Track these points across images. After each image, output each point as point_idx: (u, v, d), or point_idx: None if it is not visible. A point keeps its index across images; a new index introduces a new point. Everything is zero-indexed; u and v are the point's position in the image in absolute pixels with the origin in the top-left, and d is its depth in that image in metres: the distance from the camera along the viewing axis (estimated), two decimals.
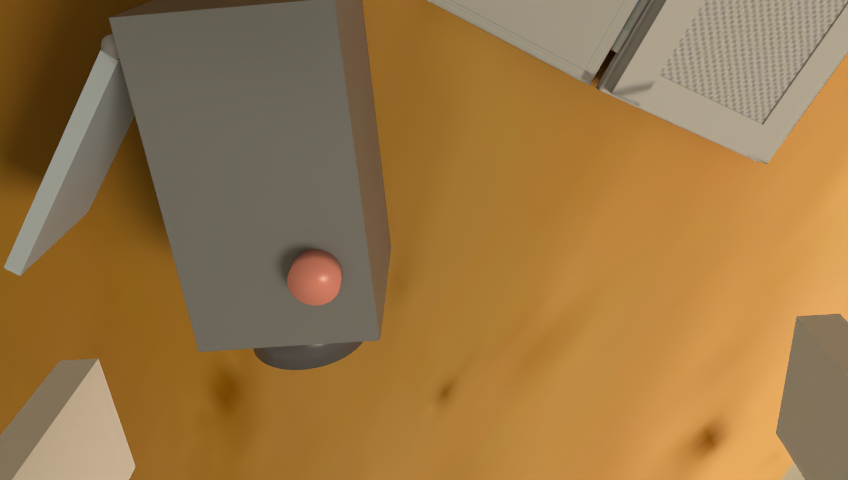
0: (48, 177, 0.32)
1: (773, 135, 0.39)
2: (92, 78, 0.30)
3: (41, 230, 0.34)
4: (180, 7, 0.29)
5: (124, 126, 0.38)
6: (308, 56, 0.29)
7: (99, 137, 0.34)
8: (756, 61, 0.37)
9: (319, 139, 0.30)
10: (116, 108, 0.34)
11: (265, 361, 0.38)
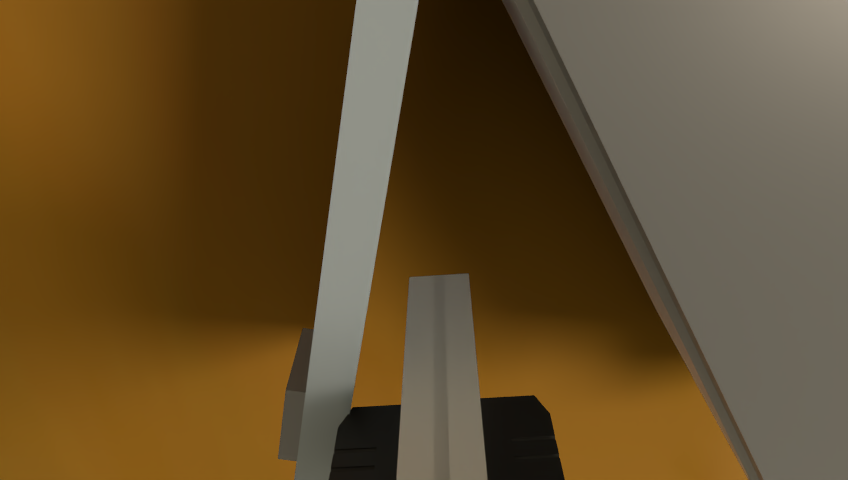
0: (322, 343, 0.12)
1: None
2: (368, 9, 0.09)
3: None
4: None
5: None
6: None
7: None
8: None
9: None
10: None
11: None
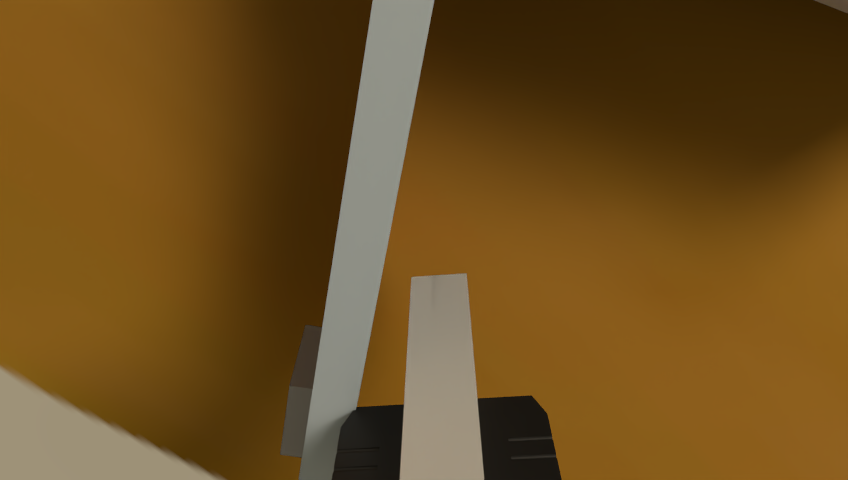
0: (331, 338, 0.12)
1: None
2: (384, 6, 0.09)
3: None
4: None
5: None
6: None
7: None
8: None
9: None
10: None
11: None
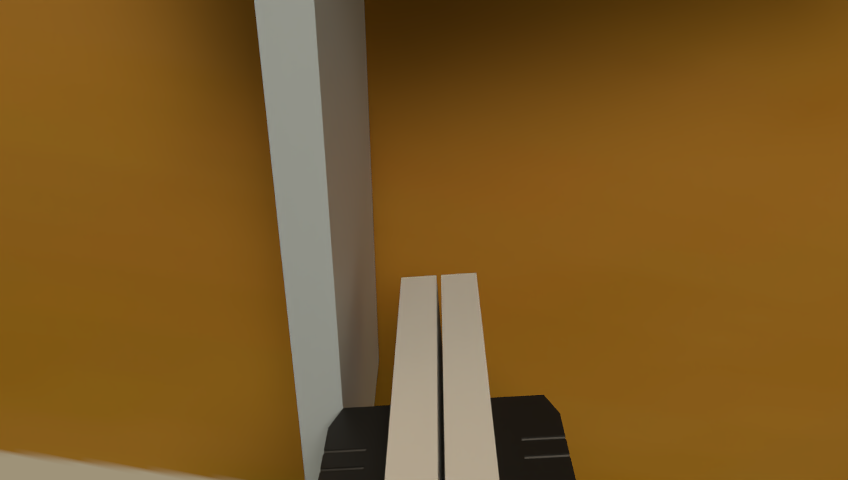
0: (301, 351, 0.12)
1: None
2: (269, 23, 0.10)
3: None
4: None
5: (366, 167, 0.17)
6: None
7: (349, 200, 0.14)
8: None
9: None
10: (348, 115, 0.13)
11: None
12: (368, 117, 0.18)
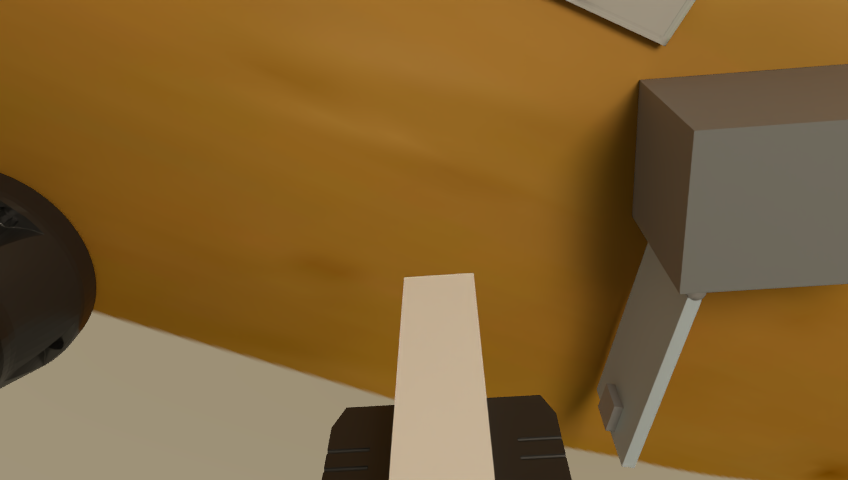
0: (652, 394, 0.42)
1: None
2: (682, 318, 0.40)
3: None
4: (675, 241, 0.38)
5: None
6: (736, 154, 0.34)
7: None
8: None
9: (810, 150, 0.34)
10: None
11: None
12: None
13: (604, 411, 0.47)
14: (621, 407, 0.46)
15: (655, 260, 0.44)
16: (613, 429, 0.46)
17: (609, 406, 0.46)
